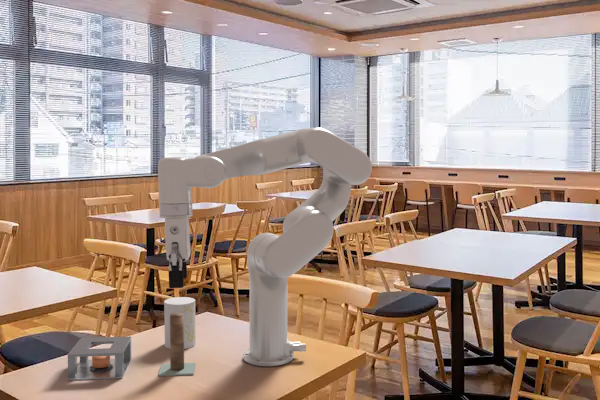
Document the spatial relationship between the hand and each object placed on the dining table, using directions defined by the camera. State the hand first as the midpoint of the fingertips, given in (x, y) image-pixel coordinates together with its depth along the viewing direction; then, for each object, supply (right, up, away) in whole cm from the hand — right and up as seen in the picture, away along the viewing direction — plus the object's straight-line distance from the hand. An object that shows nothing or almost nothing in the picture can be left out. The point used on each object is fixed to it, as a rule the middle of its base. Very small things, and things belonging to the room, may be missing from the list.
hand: (178, 282), depth 140 cm
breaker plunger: (-19, -20, +2) cm, 27 cm away
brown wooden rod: (-1, -21, +2) cm, 21 cm away
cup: (-4, -20, +20) cm, 28 cm away
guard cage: (-19, -21, +2) cm, 28 cm away
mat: (-1, -21, +2) cm, 21 cm away
